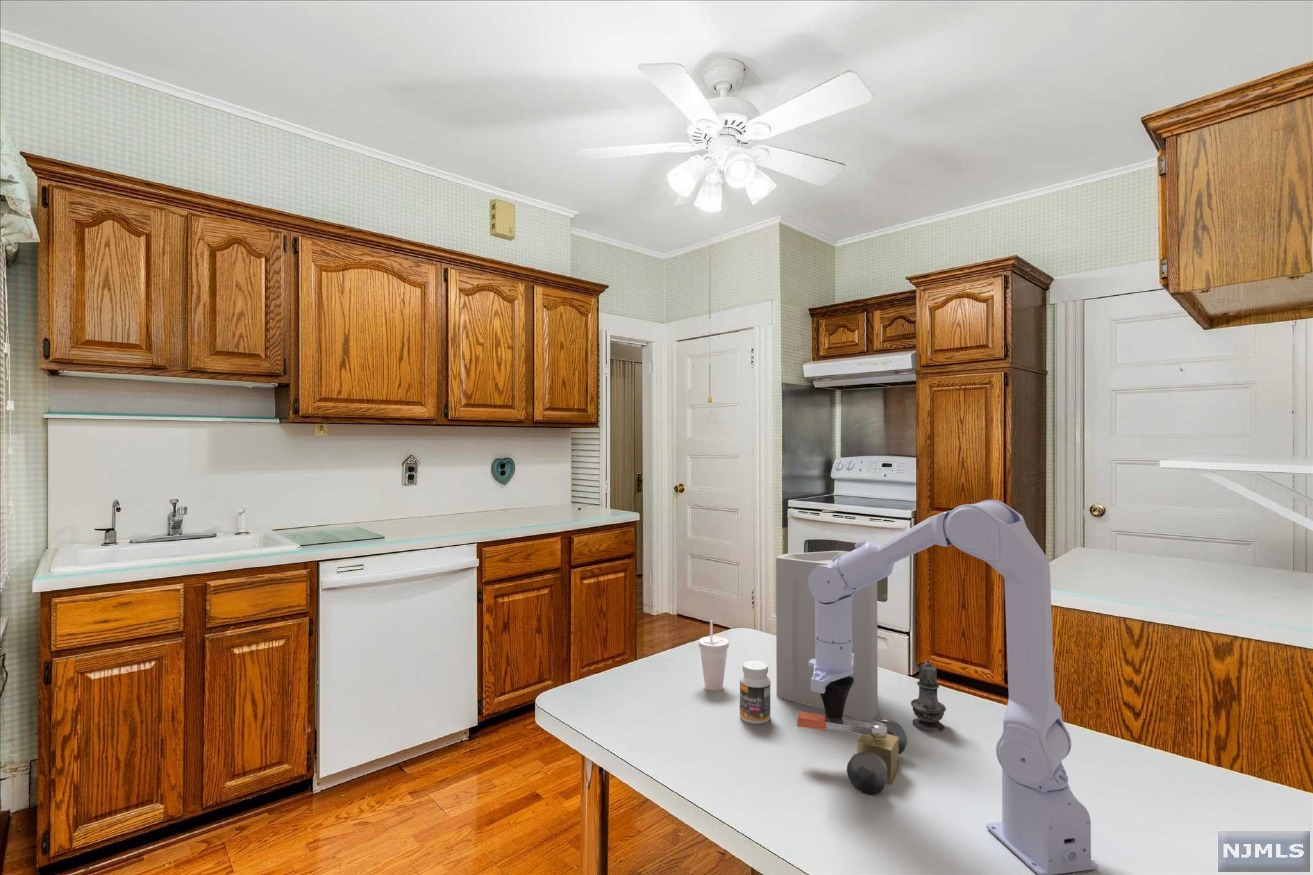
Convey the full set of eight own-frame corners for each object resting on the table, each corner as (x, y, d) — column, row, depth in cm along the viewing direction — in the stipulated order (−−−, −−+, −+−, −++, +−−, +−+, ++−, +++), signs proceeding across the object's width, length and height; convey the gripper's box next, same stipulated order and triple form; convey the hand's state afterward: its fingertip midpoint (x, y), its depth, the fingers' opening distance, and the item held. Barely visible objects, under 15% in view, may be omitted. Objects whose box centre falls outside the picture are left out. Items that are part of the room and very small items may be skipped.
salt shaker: (950, 734, 108) (949, 666, 108) (914, 731, 109) (914, 663, 109) (941, 719, 114) (941, 654, 114) (907, 716, 115) (907, 652, 115)
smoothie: (693, 684, 130) (692, 618, 130) (719, 678, 133) (719, 614, 133) (708, 695, 124) (707, 626, 124) (735, 690, 127) (734, 622, 127)
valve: (885, 800, 88) (885, 761, 88) (846, 788, 92) (846, 750, 92) (906, 757, 100) (906, 723, 100) (871, 748, 103) (871, 714, 103)
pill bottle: (735, 721, 113) (735, 667, 113) (745, 708, 118) (745, 657, 118) (765, 727, 111) (764, 672, 111) (774, 715, 116) (774, 662, 116)
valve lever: (886, 731, 97) (886, 722, 97) (887, 739, 94) (887, 730, 94) (799, 719, 101) (799, 711, 101) (797, 726, 98) (797, 717, 98)
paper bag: (893, 693, 125) (892, 556, 125) (871, 721, 113) (870, 569, 113) (803, 673, 136) (803, 546, 136) (774, 696, 124) (774, 557, 124)
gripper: (825, 622, 108) (826, 699, 108) (791, 645, 96) (792, 732, 96) (866, 629, 103) (866, 710, 104) (836, 654, 92) (836, 745, 92)
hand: (833, 721), depth 99 cm, fingers closed, pressing on valve lever
